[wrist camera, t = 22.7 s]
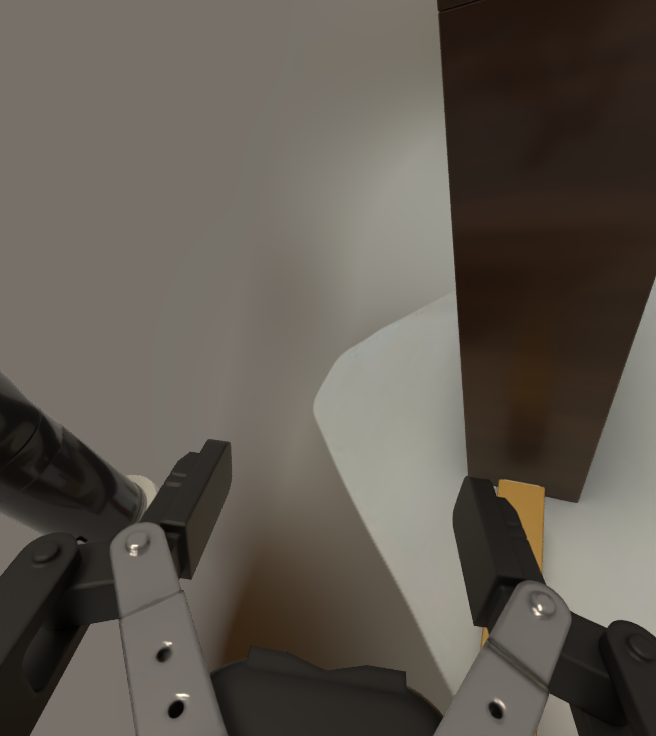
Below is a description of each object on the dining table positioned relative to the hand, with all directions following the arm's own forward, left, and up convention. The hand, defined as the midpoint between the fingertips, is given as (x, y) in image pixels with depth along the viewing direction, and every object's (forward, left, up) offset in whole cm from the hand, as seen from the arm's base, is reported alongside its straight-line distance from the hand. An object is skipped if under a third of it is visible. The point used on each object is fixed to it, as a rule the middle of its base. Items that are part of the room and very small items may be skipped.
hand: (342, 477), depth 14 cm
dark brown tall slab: (+6, +29, -25) cm, 39 cm away
